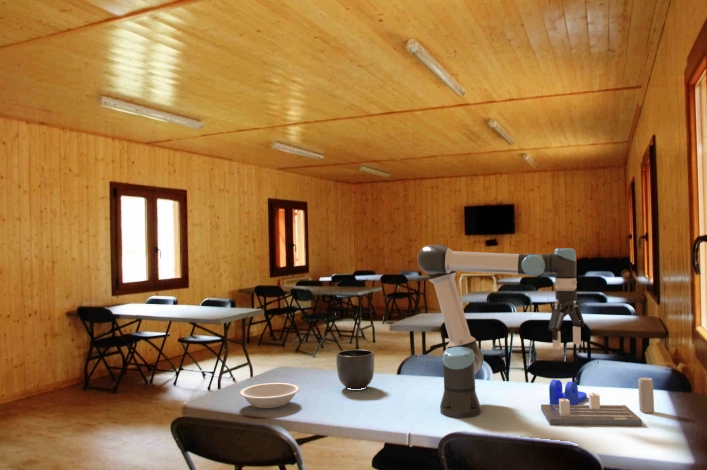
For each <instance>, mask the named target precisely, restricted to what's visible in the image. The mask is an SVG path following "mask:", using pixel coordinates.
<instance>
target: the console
mask: <svg viewBox="0 0 707 470" xmlns="http://www.w3.org/2000/svg"><path fill="white" fill-rule="evenodd" d="M540 410H541V412H542V414H543V416H545V419H546V420H547V422H548V424H549V425H551V426H595V427H596V426H602V427H603V426H608V427H611V426H612V427H614V426H615V427H643V420H642V419H641V418H640V416H638V415H637V414H636V413H634V411H633V410H631V409H630V408H629V407H628V406H627V405H625V404H624V405H623V404H620V405H619V404H617V405H616V404H614V405H613V404H600V409H591V408H590V407H589V404H577V405H570V415H560V413H559V405H553V404H540Z"/></svg>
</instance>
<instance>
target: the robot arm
mask: <svg viewBox="0 0 707 470" xmlns="http://www.w3.org/2000/svg"><path fill="white" fill-rule="evenodd" d="M416 258H417V259H416V262H417V265H418V267H419V268H420V270H421V271H423V273H425V274H426V276H427V278H428V281H429V282H430V283H432V284H433V285H434V286H433V287H434V290H435V293H436V296H437V300H438V304H439V307H440V311H441V315H442V319H443V322H444V325H445V330H446V332H447V336H448V339H449V341H448V344H447V349H445V350H444V352H443V354H442V363H443V365H442V367H443V368H442V370H443V394H442V397H441V402H440V404H439V407H440V408H439V411H440V413H441V414H443V416H448V417H454V418H471V417H477V416H479V415H480V414H481V413H482V408H481V403H480V400H479V398H478V395H477V392H476V374H477V373H479V372H480V370H481V368H482V367H483V364H484V354H483V352H482V350H481V348H479V345H478V343H477V341H476V338H475V337H474V336H472V335H471V332H470V328H469V325H468V321H467V319H466V315H465V312H464V308H463V306H462V305H463V304H462V301H461V297H460V294H459V291H458V287H457V284H456V280H455V277H456V275H457V272H465V273H466V272H467V273H483V274H500V275H501V274H502V275H521V276H529V277H537V276H540V275H542V274H544V275H545V274H553V275H554V280H555V281H554V288H555V289H556V290H555V300H556V301H558V302H557V303H553V304H552V310H551V315H550V320H549V325H548V327H547V328H548V330H549V331H552V333H551V334H552V349H556V350H561V347H562V346H561V344H562V343H561V342H562V341H561V340H562V339H561V331H560V328H561V326H562V324H563V322H564V318H565V317H566V316H567V315H568V316H569V319H570V320H571V322H572V324H573V326H572V344H573V345H579V346H581V345H582V341H581V340H582V339H581V338H582V337H581V334H582V333H581V330H582V329H581V328H583V327H584V324H585V321H584V317H583V314H582V310H581V308H580V301H577V298H578V294H577V293H578V291H577V290H576V289H577V284H578V281H577V253H576V250H575V248H571V247H569V248H568V247H567V248H555V249H554V252H553V253H504V252H503V253H501V252H481V251H480V252H479V251H478V252H477V251H462V250H461V251H459V250H452V249H451V248H450V247H448V246H446V245H444V244H441V243H437V244H428V245H425V246H423V247H422V248H421V249H420V250H419V251H418V254H417V257H416Z"/></svg>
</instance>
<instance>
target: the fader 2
mask: <svg viewBox="0 0 707 470" xmlns="http://www.w3.org/2000/svg"><path fill="white" fill-rule="evenodd" d="M600 398H601V396H600V394H599V393H595V392H591V393H588V405H589V407H590V408H591V409H600V405H601V402H600V400H601V399H600Z"/></svg>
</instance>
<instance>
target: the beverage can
mask: <svg viewBox="0 0 707 470" xmlns="http://www.w3.org/2000/svg"><path fill="white" fill-rule="evenodd" d="M637 382H638V383H637V384H638V403H639V404H638V405H639V406H638V407H639V411H640V412H641V413H643V414H653V413H654V412H655V404H654V403H655V401H654V400H655V398H654V381H653V378H651V377H645V376H644V377H638V381H637Z"/></svg>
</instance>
